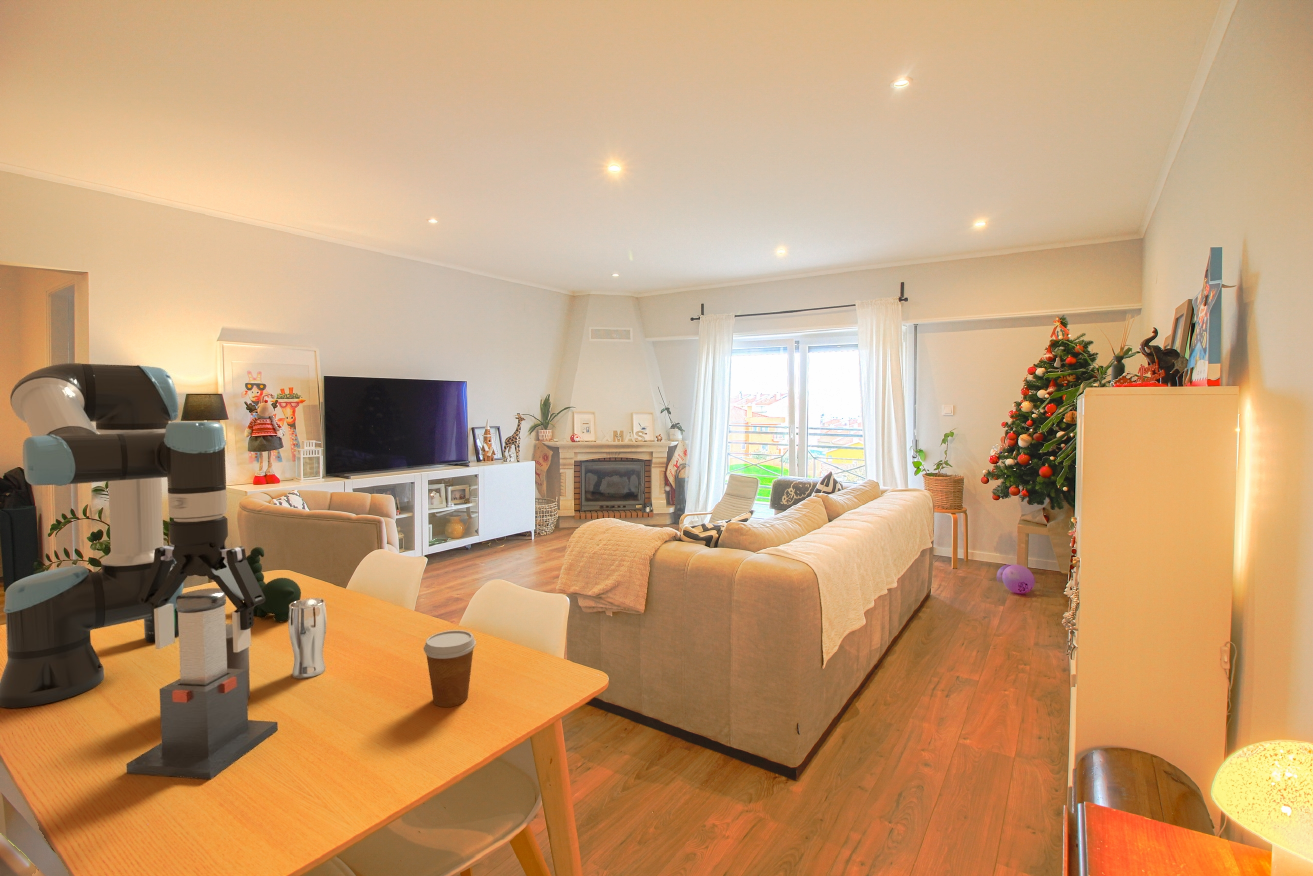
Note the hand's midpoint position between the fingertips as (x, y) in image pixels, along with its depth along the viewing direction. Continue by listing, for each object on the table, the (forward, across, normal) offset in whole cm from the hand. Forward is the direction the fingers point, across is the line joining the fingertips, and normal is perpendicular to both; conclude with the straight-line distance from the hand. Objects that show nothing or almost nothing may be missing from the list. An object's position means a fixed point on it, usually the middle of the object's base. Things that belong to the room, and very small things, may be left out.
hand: (203, 647), depth 98 cm
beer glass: (+17, -3, +29) cm, 34 cm away
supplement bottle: (+17, -51, +43) cm, 69 cm away
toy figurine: (+17, -36, +60) cm, 72 cm away
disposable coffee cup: (+18, +32, +21) cm, 42 cm away
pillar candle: (+17, -11, +15) cm, 26 cm away
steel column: (+15, 0, 0) cm, 15 cm away
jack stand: (+17, 0, 0) cm, 17 cm away
